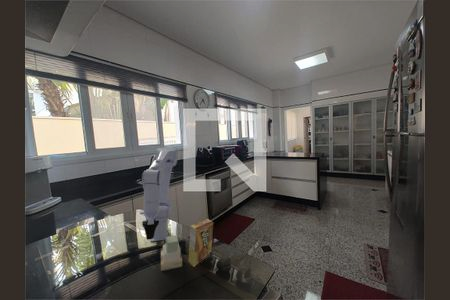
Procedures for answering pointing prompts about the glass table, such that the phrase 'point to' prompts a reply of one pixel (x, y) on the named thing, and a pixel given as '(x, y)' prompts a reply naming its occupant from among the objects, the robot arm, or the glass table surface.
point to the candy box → (200, 241)
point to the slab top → (170, 254)
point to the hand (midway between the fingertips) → (150, 233)
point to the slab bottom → (170, 263)
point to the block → (171, 244)
